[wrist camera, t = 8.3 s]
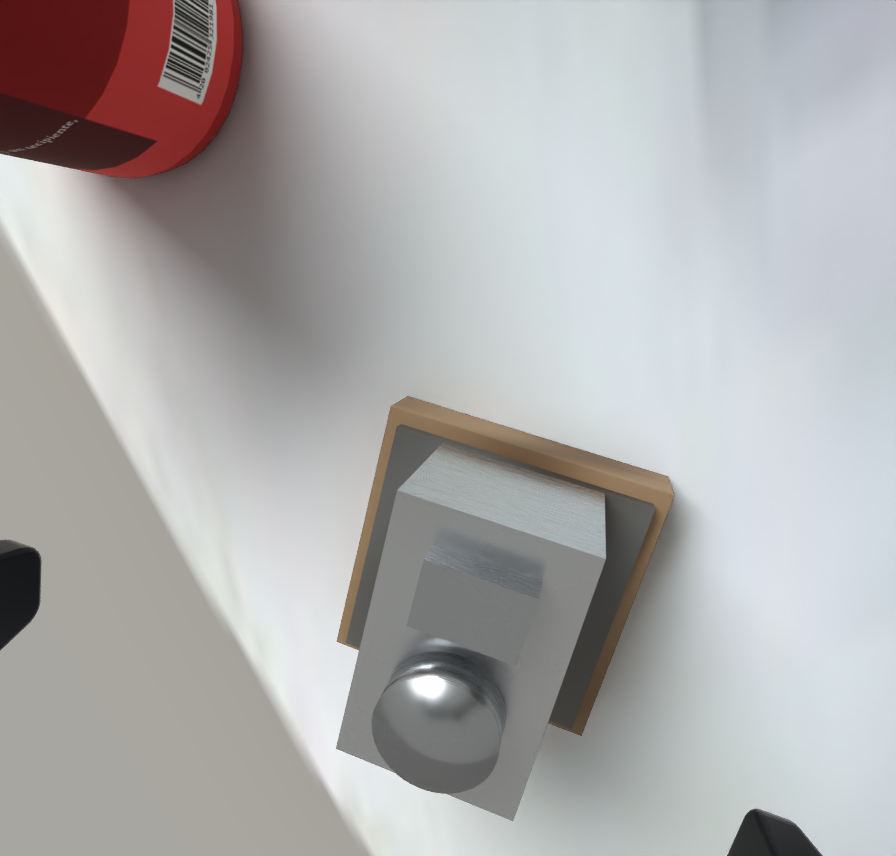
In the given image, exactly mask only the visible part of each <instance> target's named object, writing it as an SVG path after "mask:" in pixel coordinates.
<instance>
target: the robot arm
mask: <svg viewBox="0 0 896 856" xmlns="http://www.w3.org/2000/svg"><path fill="white" fill-rule="evenodd" d="M40 594H41V556H40V554H39V552H38V551H37V550H36V549H35V548H33V547H30V546H27V545H24V544H22V543H19V542H16V541H12V540H0V650H1V649H2V648H3V647H4V646H5V645H7V644H8V643H9V642H10V641H11V640H12V639H13V638H14V637H15V636H16V635H17V634H18V633H19V632H20V631H21V630H22V629H24V628H25V627H26V626H27V625H28V624H29V623H30V622H31V620H32V619H33V618H34V616H35V615H36V613H37V611H38V609H39V606H40ZM727 856H822V854H821V853H820V852H819V851H818V850H817V848H816V847H815V846H814V845H813V844H812V842H811V841H810V840H809V839H808V838H807V836H806V835H805V834H804V833H803V832H802V830H801V829H800V828H799V827H798V826H797V825H796V824H795V823H793V822H792V821H790V820H788V819H785V818H782V817H780V816H777V815H774V814H771V813H769V812H766V811H763V810H760V809H753V810H750V811H749V812H748V813H747V814H746V816H745V818H744V819H743V822H742V824H741V826H740V828H739V831H738V833H737V835H736V837H735V839H734V842H733V844H732V846H731V848H730V851H729V853H728V855H727Z"/></svg>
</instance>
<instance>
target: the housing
mask: <svg viewBox="0 0 896 856" xmlns="http://www.w3.org/2000/svg"><path fill="white" fill-rule="evenodd" d="M605 560H606V536H605V493H601V492H598V491H595V490H592V489H589V488H585V487H582V486H579V485H576V484H573V483H569V482H566V481H563V480H560V479H556V478H553V477H550V476H547V475H544V474H540V473H537V472H534V471H531V470H528V469H524V468H521V467H518V466H515V465H512V464H508V463H505V462H502V461H499V460H495V459H492V458H489V457H486V456H483V455H479V454H476V453H473V452H470V451H467V450H463V449H460V448H457V447H454V446H450V445H447V444H444V443H442V444H441V445H440V446H439V447H438V448H437V449H436V450H435V452H434V453H433V454H432V455H431V456H430V457H429V458H428V459H427V460H426V461H425V462H424V463H423V464H422V465H421V466H420V467H419V468H418V469H417V470H416V471H415V472H414V473H413V474H412V475H411V476H410V477H409V478H408V479H407V481H406V482H405V483H404V484H403V485H402V486H401V487H400V488H399V489H398V490H397V493H396V497H395V501H394V505H393V510H392V514H391V518H390V522H389V527H388V531H387V535H386V539H385V544H384V548H383V552H382V556H381V560H380V565H379V569H378V573H377V577H376V582H375V586H374V590H373V594H372V599H371V603H370V607H369V611H368V615H367V620H366V624H365V628H364V632H363V637H362V641H361V645H360V649H359V654H358V658H357V662H356V666H355V671H354V675H353V679H352V683H351V687H350V692H349V696H348V700H347V704H346V709H345V713H344V717H343V721H342V726H341V730H340V734H339V738H338V742H337V747H336V749H338V750H341V751H343V752H346V753H348V754H350V755H353V756H355V757H358V758H360V759H363V760H365V761H368V762H370V763H372V764H375V765H377V766H380V767H382V768H385V769H387V770H390V771H392V772H394V773H396V774H397V775H398V776H400V777H401V778H402V779H404V780H405V781H407V782H409V783H410V784H412V785H414V786H416V787H419V788H421V789H424V790H427V791H431V792H436V793H446V794H448V795H451V796H453V797H455V798H458V799H460V800H463V801H465V802H468V803H470V804H472V805H475V806H477V807H480V808H482V809H485V810H487V811H490V812H492V813H494V814H497V815H499V816H502V817H504V818H507V819H509V820H512V821H513V820H514V817H515V814H516V811H517V808H518V806H519V803H520V800H521V797H522V794H523V791H524V789H525V786H526V783H527V780H528V777H529V775H530V772H531V769H532V766H533V763H534V760H535V758H536V755H537V752H538V749H539V746H540V744H541V741H542V738H543V735H544V732H545V729H546V727H547V724H548V721H549V718H550V715H551V713H552V710H553V707H554V704H555V701H556V698H557V696H558V693H559V690H560V687H561V684H562V682H563V679H564V676H565V673H566V670H567V667H568V665H569V662H570V659H571V656H572V653H573V650H574V648H575V645H576V642H577V639H578V636H579V634H580V631H581V628H582V625H583V622H584V619H585V617H586V614H587V611H588V608H589V605H590V603H591V600H592V597H593V594H594V591H595V588H596V586H597V583H598V580H599V577H600V574H601V572H602V569H603V566H604V563H605Z"/></svg>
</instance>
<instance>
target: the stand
mask: <svg viewBox="0 0 896 856" xmlns="http://www.w3.org/2000/svg"><path fill="white" fill-rule="evenodd" d="M442 443H444V444H447V445H450V446H454V447H457V448H460V449H463V450H467V451H470V452H473V453H476V454H479V455H483V456H486V457H489V458H492V459H495V460H499V461H502V462H505V463H508V464H512V465H515V466H518V467H521V468H524V469H528V470H531V471H534V472H537V473H540V474H544V475H547V476H550V477H553V478H556V479H560V480H563V481H566V482H569V483H573V484H576V485H579V486H582V487H585V488H589V489H592V490H595V491H598V492H601V493H605V536H606V560H605V563H604V566H603V569H602V572H601V574H600V577H599V580H598V583H597V586H596V588H595V591H594V594H593V597H592V600H591V603H590V605H589V608H588V611H587V614H586V617H585V619H584V622H583V625H582V628H581V631H580V634H579V636H578V639H577V642H576V645H575V648H574V650H573V653H572V656H571V659H570V662H569V665H568V667H567V670H566V673H565V676H564V679H563V682H562V684H561V687H560V690H559V693H558V696H557V698H556V701H555V704H554V707H553V710H552V713H551V715H550V718H549V721H548V723H549V724H552V725H555V726H557V727H560V728H562V729H565V730H567V731H570V732H573V733H575V734H578V735H580V736H582V733H583V731H584V728H585V725H586V723H587V720H588V718H589V715H590V712H591V710H592V707H593V705H594V702H595V700H596V697H597V694H598V692H599V689H600V687H601V684H602V681H603V679H604V676H605V674H606V671H607V668H608V666H609V663H610V661H611V658H612V656H613V653H614V650H615V648H616V645H617V643H618V640H619V637H620V635H621V632H622V630H623V627H624V624H625V622H626V619H627V617H628V614H629V611H630V609H631V606H632V604H633V601H634V599H635V596H636V593H637V591H638V588H639V586H640V583H641V580H642V578H643V575H644V573H645V570H646V567H647V565H648V562H649V560H650V557H651V555H652V552H653V549H654V547H655V544H656V542H657V539H658V536H659V534H660V531H661V529H662V526H663V523H664V521H665V518H666V516H667V513H668V511H669V508H670V505H671V503H672V500H673V498H674V492H673V489H672V487H671V484H670V481H669V478H668V476H664V475H661V474H658V473H655V472H651V471H648V470H645V469H642V468H638V467H635V466H632V465H629V464H625V463H622V462H619V461H616V460H613V459H609V458H606V457H603V456H600V455H596V454H593V453H590V452H587V451H583V450H580V449H577V448H574V447H570V446H567V445H564V444H561V443H557V442H554V441H551V440H548V439H544V438H541V437H538V436H535V435H531V434H528V433H525V432H522V431H518V430H515V429H512V428H509V427H506V426H502V425H499V424H496V423H493V422H489V421H486V420H483V419H480V418H476V417H473V416H470V415H467V414H463V413H460V412H457V411H454V410H450V409H447V408H444V407H441V406H437V405H434V404H431V403H428V402H424V401H421V400H418V399H415V398H412V397H408V396H407V397H406V398H404V399H402V400H401V401H399V402H397V403H396V404H394V405H392V406H391V408H390V412H389V417H388V421H387V425H386V430H385V434H384V438H383V443H382V447H381V451H380V456H379V460H378V464H377V469H376V473H375V477H374V482H373V486H372V490H371V495H370V499H369V503H368V508H367V512H366V516H365V521H364V525H363V529H362V534H361V538H360V542H359V547H358V551H357V555H356V560H355V564H354V568H353V573H352V577H351V581H350V586H349V590H348V594H347V599H346V603H345V607H344V612H343V616H342V620H341V625H340V629H339V633H338V638H337V642H339V643H342V644H344V645H347V646H349V647H352V648H355V649H357V650H359V649H360V645H361V641H362V637H363V632H364V628H365V624H366V620H367V615H368V611H369V607H370V603H371V599H372V594H373V590H374V586H375V582H376V577H377V573H378V569H379V565H380V560H381V556H382V552H383V548H384V544H385V539H386V535H387V531H388V527H389V522H390V518H391V514H392V510H393V505H394V501H395V497H396V493H397V490H398V489H399V488H400V487H401V486H402V485H403V484H404V483H405V482H406V481H407V479H408V478H409V477H410V476H411V475H412V474H413V473H414V472H415V471H416V470H417V469H418V468H419V467H420V466H421V465H422V464H423V463H424V462H425V461H426V460H427V459H428V458H429V457H430V456H431V455H432V454H433V453H434V452H435V450H436V449H437V448H438V447H439V446H440V445H441V444H442Z"/></svg>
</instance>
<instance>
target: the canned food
mask: <svg viewBox="0 0 896 856" xmlns="http://www.w3.org/2000/svg"><path fill="white" fill-rule="evenodd" d="M241 63H242V26H241V19H240V13H239V6H238V0H0V154H4V155H9V156H14V157H19V158H24V159H29V160H34V161H38V162H43V163H48V164H53V165H58V166H63V167H68V168H73V169H78V170H82V171H87V172H92V173H97V174H102V175H107V176H113V177H123V178H136V177H143V176H149V175H154V174H158V173H162V172H166V171H169V170H172V169H174V168H176V167H179V166H181V165H183V164H186V163H187V162H189V161H190V160H191V159H192V158H194V157H195V156H196V155H198V154H199V153H200V152H202V151H203V150H204V149H205V148H206V146H207V145H208V144H209V143H210V142H211V140H212V139H213V138H214V137H215V136H216V134H217V133H218V132H219V130H220V128H221V126H222V124H223V122H224V121H225V119H226V117H227V115H228V113H229V111H230V108H231V105H232V102H233V99H234V96H235V93H236V90H237V87H238V82H239V76H240V69H241Z"/></svg>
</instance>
